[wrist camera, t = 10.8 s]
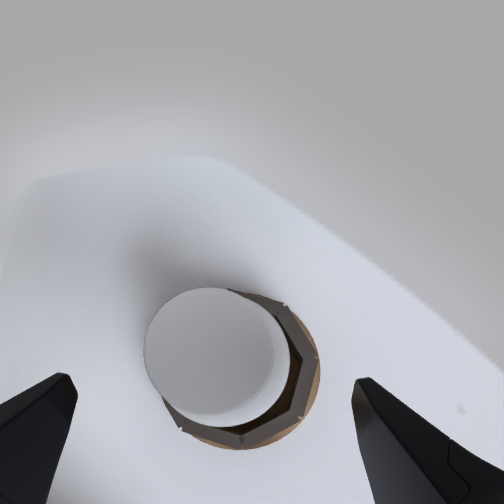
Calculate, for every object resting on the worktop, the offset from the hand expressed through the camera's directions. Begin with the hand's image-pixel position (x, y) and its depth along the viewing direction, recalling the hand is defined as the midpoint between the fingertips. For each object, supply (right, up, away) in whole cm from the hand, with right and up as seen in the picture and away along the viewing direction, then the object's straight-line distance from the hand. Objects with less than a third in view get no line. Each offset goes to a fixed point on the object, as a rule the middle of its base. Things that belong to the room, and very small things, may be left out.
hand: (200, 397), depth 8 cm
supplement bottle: (+1, -3, +9) cm, 10 cm away
